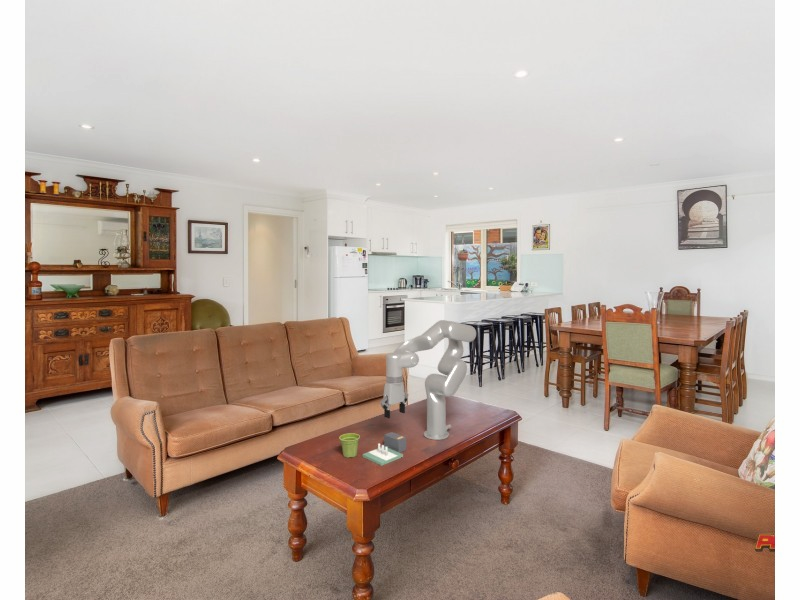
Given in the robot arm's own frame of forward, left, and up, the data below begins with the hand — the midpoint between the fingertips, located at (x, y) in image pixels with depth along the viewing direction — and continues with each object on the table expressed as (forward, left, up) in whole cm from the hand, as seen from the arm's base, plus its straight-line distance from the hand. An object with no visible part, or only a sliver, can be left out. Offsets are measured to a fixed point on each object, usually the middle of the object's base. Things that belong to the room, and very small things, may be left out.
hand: (394, 415), depth 215 cm
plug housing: (0, 0, -16) cm, 16 cm away
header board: (+10, +3, -16) cm, 19 cm away
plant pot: (+20, -9, -16) cm, 27 cm away
